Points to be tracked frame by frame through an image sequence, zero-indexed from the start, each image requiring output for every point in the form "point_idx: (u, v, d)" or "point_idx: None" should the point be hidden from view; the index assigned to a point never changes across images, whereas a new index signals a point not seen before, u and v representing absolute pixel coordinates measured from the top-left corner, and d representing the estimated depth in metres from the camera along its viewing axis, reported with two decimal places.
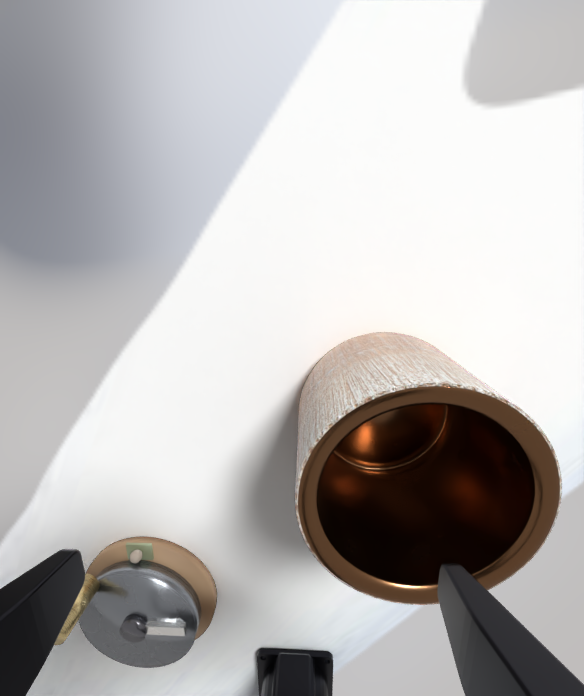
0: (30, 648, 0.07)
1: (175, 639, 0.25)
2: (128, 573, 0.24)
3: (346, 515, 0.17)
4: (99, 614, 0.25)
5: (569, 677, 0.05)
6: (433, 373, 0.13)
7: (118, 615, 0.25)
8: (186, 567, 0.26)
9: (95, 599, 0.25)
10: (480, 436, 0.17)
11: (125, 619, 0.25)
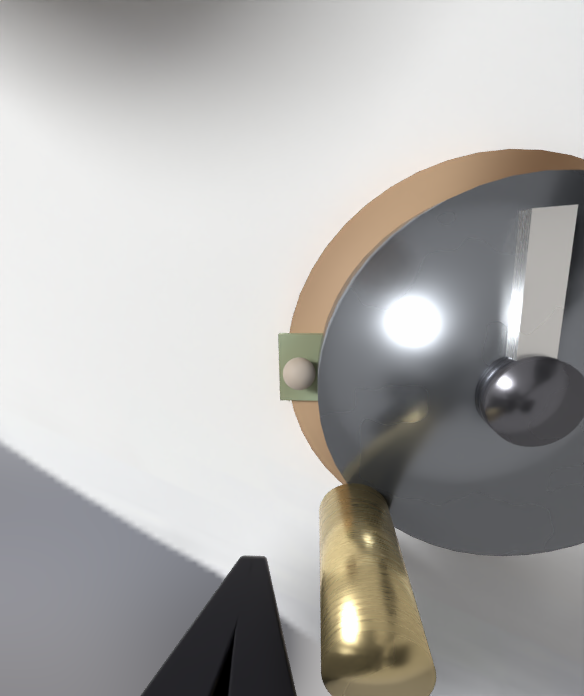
0: None
1: None
2: None
3: None
4: (475, 498, 0.08)
5: (280, 661, 0.05)
6: None
7: (479, 444, 0.08)
8: (360, 238, 0.09)
9: (413, 502, 0.08)
10: None
11: (489, 424, 0.07)
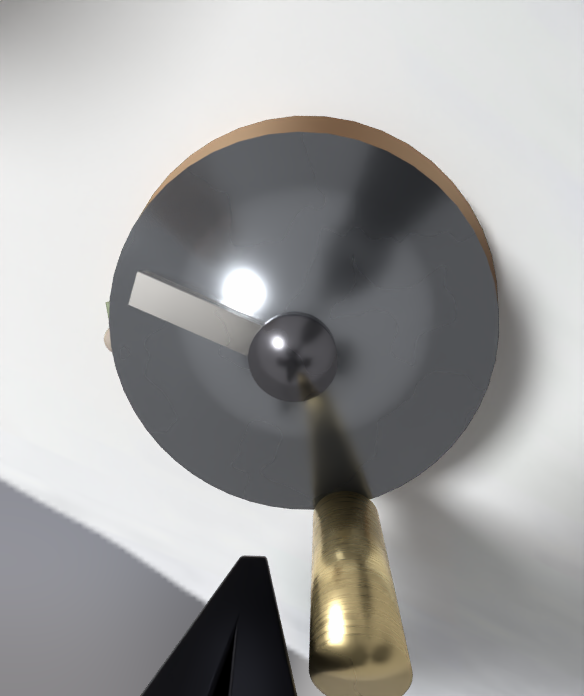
0: None
1: (199, 247, 0.07)
2: None
3: None
4: (384, 425, 0.08)
5: (281, 661, 0.05)
6: None
7: (328, 400, 0.08)
8: None
9: (360, 472, 0.09)
10: None
11: None
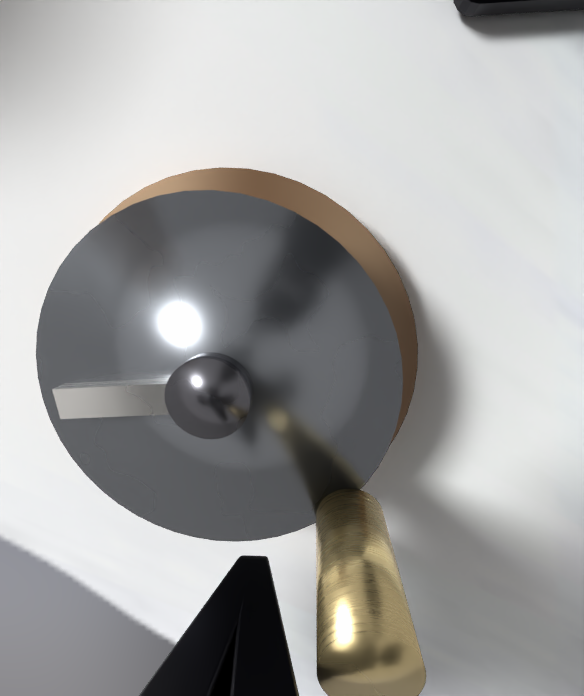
0: None
1: (91, 344, 0.08)
2: None
3: None
4: (329, 415, 0.08)
5: (282, 661, 0.05)
6: None
7: (267, 417, 0.08)
8: None
9: (335, 468, 0.09)
10: None
11: None
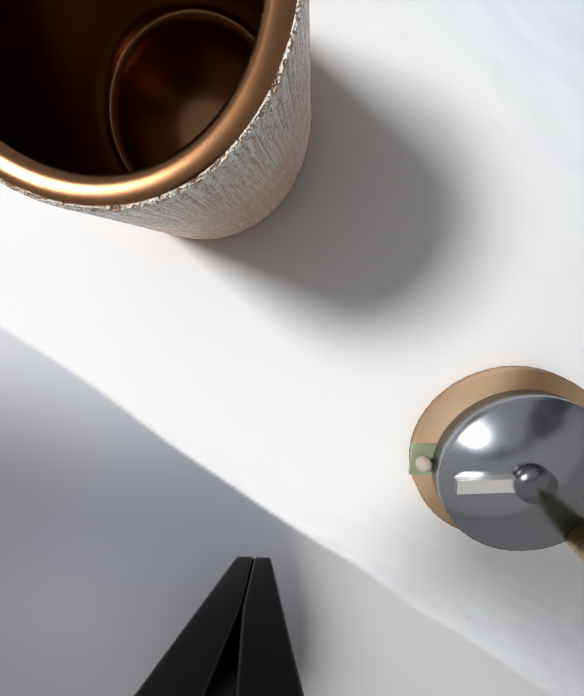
0: None
1: (474, 459, 0.17)
2: None
3: None
4: None
5: (287, 662, 0.05)
6: None
7: None
8: (454, 403, 0.19)
9: (582, 515, 0.18)
10: None
11: None
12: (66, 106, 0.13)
